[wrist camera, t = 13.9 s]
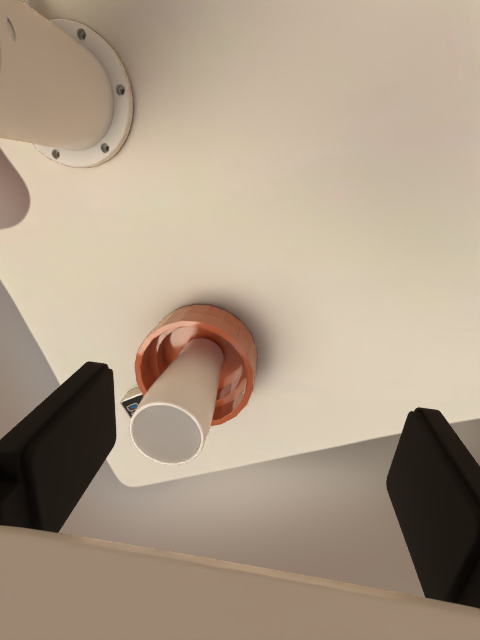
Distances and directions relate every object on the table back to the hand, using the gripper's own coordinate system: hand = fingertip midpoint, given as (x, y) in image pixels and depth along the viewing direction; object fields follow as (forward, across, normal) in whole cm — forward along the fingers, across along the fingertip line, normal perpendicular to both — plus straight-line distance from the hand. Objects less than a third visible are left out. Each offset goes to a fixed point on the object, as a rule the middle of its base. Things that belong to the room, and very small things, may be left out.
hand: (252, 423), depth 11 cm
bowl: (+29, +7, +13) cm, 33 cm away
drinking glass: (+29, +7, +13) cm, 33 cm away
